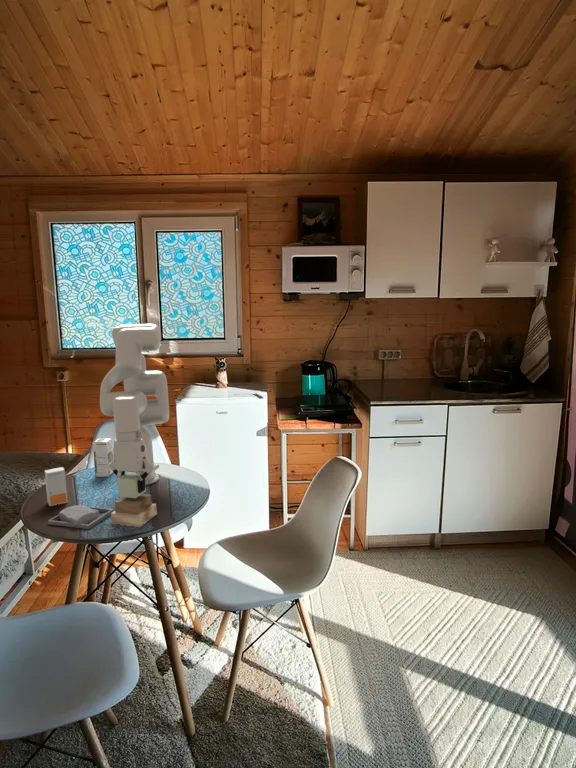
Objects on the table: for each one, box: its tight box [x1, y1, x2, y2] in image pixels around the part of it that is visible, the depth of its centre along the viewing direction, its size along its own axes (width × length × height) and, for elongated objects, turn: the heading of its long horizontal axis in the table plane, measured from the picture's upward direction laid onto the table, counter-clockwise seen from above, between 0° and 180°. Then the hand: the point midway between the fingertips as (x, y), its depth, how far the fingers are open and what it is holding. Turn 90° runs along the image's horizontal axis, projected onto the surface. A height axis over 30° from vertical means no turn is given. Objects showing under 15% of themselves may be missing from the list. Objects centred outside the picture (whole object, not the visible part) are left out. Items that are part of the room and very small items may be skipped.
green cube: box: [116, 472, 147, 498], centre depth 161 cm, size 6×6×6 cm
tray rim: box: [47, 504, 115, 530], centre depth 164 cm, size 12×15×1 cm
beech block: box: [110, 502, 158, 528], centre depth 162 cm, size 10×10×4 cm
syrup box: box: [92, 437, 114, 478], centre depth 204 cm, size 6×6×14 cm
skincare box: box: [44, 466, 69, 507], centre depth 176 cm, size 6×4×12 cm
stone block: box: [58, 504, 100, 528], centre depth 164 cm, size 12×5×10 cm
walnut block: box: [114, 493, 153, 515], centre depth 162 cm, size 8×8×4 cm
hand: (132, 490), depth 161 cm, fingers closed on green cube, 5 cm apart
